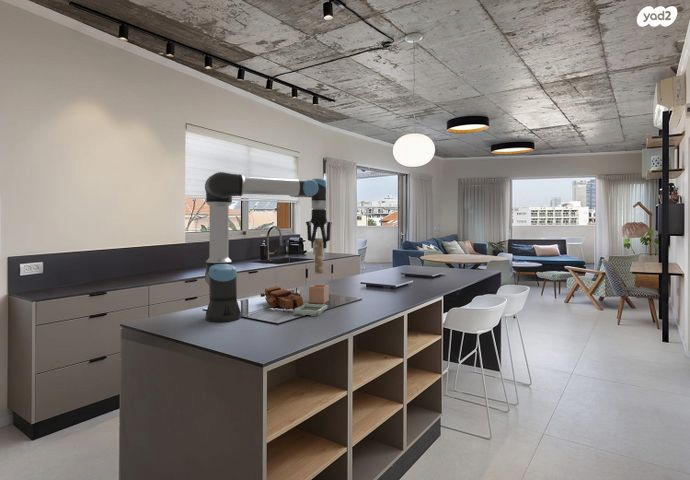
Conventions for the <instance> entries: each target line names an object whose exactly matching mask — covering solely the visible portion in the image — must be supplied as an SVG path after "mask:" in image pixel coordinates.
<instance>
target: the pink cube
mask: <svg viewBox="0 0 690 480" xmlns="http://www.w3.org/2000/svg"><path fill="white" fill-rule="evenodd" d="M329 289H330V285H328V284H312V285H311V286H308V304H325V303H327V302H329V300H330V298H329V297H330V295H329V294H330V290H329Z"/></svg>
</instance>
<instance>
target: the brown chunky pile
mask: <svg viewBox="0 0 690 480" xmlns="http://www.w3.org/2000/svg"><path fill="white" fill-rule="evenodd" d="M259 295H260V298H262V297H263V298H265V302H266V303H267V304H268V306H269V307H271V308H272V309H273V308H275V307H278V308H282V309H284V310H286V311H288V310H294V309H295V308H297V307H299V306H302V305H304V304H305V303H304V300H303V296H301V293H300V292H299V293H298V287H295V292H293V291H290V290H288V289H285V288H281V287H280V286H278V285H276V286H272V287H267V288H264V292H263V293H262V292H261V293H260V294H259Z"/></svg>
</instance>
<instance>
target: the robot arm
mask: <svg viewBox="0 0 690 480" xmlns="http://www.w3.org/2000/svg"><path fill="white" fill-rule="evenodd" d="M204 190H205V204H207V205H208V206H209V257H208V259H207V260H206V261H205V271H204V272H205V273H204V280H205V282H206V284H207V285H208V291H209V292H208V293H209V297H208V298H209V301H208V305H207V308H206V312H205V320H206V321H207V322H212V323H214V322H215V323H223V322H227V323H228V322H232V321H237V320H239V319H241V318H242V312H241V308H240V306H239V303H238V298H237V297H238V296H237V295H238V291H237V290H238V289H237V282H238V281H237V277H238V276H237V275H238V272H237V267H236V266H235V265H233V264H232V263H233V262H232V261H233V260H232V259H230V257H229V234H230V233H229V226H230V225H229V213H230V212H229V211H230V209H229V207H230V206H231V205H232V204H233V197H242V196H244V195H260V196H261V195H267V196H271V195H272V196H289V197H291V198H311V219H310V220H308V221H306V222H305V224H306V227H307V229H306V230H307V240H308V242H311V243H310V244H311V245H310V246H311V249H312V255H313V256H315V238H317V237H316V236H317V232H318V228H320V233H321V238H322V239H323V242H322V255H323V256H325V254H326V253H325V251H326V250H325V249H327V243H328V242H329V241H330V240H331V227H332V223H333V222H332V221H330V220H328V219H327V210H326V209H327V181H326V179H325V178H312V179H294V178H293V179H291V178H290V179H289V178H269V177H251V176H244V175H243V174H240V173H239V174H237V173H230V172H222V171H220V172H219V171H218V172H215V173H214V174H212V175H210V176H208V178H206V180H205V183H204ZM312 225H313V227H312ZM325 225H326V229H325Z"/></svg>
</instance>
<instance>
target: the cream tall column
mask: <svg viewBox="0 0 690 480" xmlns="http://www.w3.org/2000/svg"><path fill="white" fill-rule="evenodd" d="M322 242H323V239H322V237H321V238H320V237H315V255H314V274H317V275H321V274H323V273H324V264H323V263H324V262H323V261H324V258H323V257H324V255H322Z"/></svg>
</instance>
